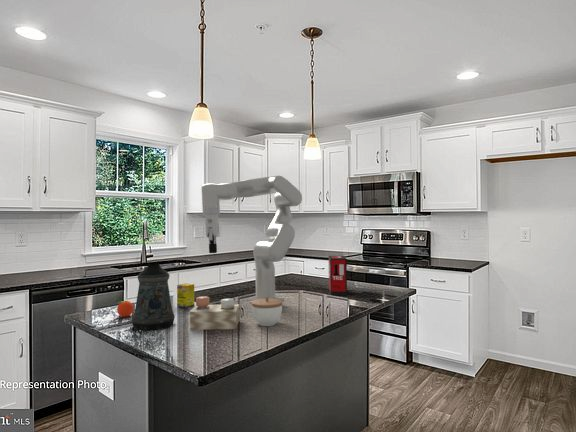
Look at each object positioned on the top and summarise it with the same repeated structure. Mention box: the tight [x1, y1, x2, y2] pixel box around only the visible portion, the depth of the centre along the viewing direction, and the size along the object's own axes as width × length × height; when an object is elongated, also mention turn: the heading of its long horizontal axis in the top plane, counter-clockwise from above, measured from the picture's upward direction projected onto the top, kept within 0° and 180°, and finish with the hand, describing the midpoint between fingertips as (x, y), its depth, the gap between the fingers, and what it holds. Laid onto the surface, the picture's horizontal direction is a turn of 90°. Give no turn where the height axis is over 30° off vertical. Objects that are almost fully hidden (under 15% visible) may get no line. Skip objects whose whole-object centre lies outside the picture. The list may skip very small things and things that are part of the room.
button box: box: [189, 303, 240, 331], centre depth 162 cm, size 18×12×7 cm, turn 91°
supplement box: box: [176, 282, 195, 309], centre depth 195 cm, size 6×6×11 cm
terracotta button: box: [195, 295, 210, 310], centre depth 162 cm, size 5×5×9 cm
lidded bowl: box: [251, 297, 283, 327], centre depth 163 cm, size 13×13×11 cm
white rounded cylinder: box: [220, 298, 235, 309], centre depth 162 cm, size 5×5×9 cm
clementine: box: [116, 300, 135, 318], centre depth 177 cm, size 8×7×7 cm
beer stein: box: [131, 262, 175, 332], centre depth 163 cm, size 16×19×25 cm
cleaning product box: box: [328, 255, 348, 296], centre depth 228 cm, size 16×9×20 cm, turn 178°
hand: (213, 252), depth 178 cm, fingers closed
